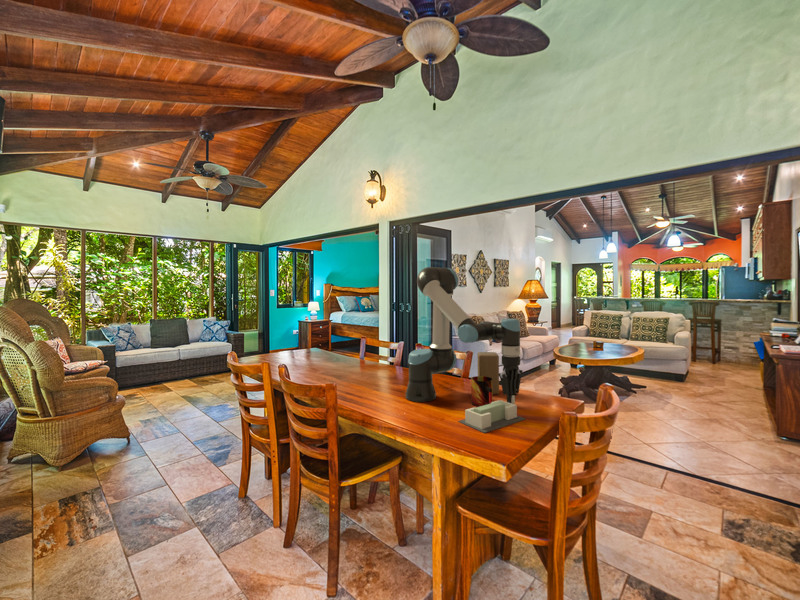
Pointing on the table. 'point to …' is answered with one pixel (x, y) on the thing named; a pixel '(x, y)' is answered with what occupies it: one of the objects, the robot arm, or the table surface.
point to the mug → (481, 391)
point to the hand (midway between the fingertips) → (511, 410)
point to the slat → (492, 410)
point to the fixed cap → (477, 418)
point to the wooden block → (489, 368)
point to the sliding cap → (509, 410)
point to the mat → (495, 424)
